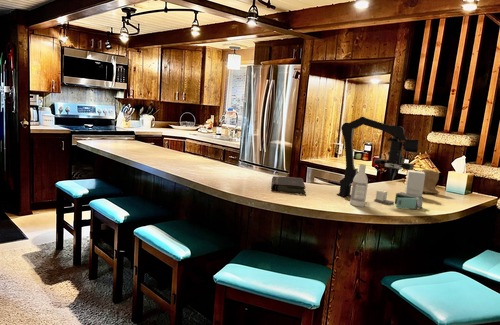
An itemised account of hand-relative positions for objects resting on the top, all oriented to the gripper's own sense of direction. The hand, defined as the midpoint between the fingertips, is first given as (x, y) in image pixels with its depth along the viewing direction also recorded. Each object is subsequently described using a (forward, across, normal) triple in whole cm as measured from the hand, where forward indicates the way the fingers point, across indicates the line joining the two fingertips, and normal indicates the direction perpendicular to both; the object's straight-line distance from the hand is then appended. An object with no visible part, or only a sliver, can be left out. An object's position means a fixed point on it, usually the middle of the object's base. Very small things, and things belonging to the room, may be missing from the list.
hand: (391, 180), depth 195 cm
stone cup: (+12, +3, -62) cm, 63 cm away
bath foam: (+12, +6, +22) cm, 25 cm away
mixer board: (+12, +2, 0) cm, 12 cm away
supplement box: (+12, +2, -38) cm, 40 cm away
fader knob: (+11, +4, 0) cm, 12 cm away
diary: (+12, +47, +25) cm, 54 cm away
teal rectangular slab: (+12, -11, +3) cm, 16 cm away
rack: (+12, -8, -7) cm, 16 cm away
